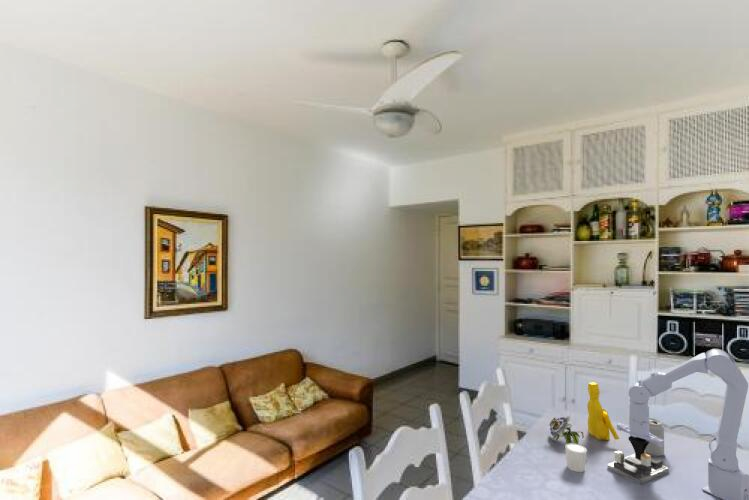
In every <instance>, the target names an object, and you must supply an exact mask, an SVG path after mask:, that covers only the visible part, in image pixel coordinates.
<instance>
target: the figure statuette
mask: <svg viewBox="0 0 749 500" xmlns="http://www.w3.org/2000/svg"><path fill="white" fill-rule="evenodd" d="M587 385H588V386H587V391H588V394H589V395H588V396H589V400H588V403H586V404H587V408H586V409H587V413H588V418H587V429H588V433H589V434H590V435H591V436H592V437H594V438H596V439H597V440H598V441H602V440H605V441H606V440H607V441H609V440H610V432H611V435H612V436H613V439H614V440H620V437H619V435H618V433H617V431H616V429H615V428H614V426H613V424H612V421H611V419H610V416H609V413H608V412H607V411H606V409H604V408H603V407H602V405H601V403H600V399H599V397H600V388H599V385H598V383H596V382H589V383H588V384H587Z"/></svg>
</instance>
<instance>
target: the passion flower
mask: <svg viewBox="0 0 749 500" xmlns="http://www.w3.org/2000/svg"><path fill="white" fill-rule="evenodd" d="M569 421H570V416H566V417H558V418H557V417H553V418H552V419H551V420H550V421H549V427H550V428H549V430H550V434H551V436H552V438H551V441H555V442H556V441H558V440H559V439H560V438H562V437H564V439H565V442H566V444H570V443H573V444H579V438H580V437H581V436H582V437H581V438H582V439H584V438H585V437H584V431H580V433H581V435H580V434H579V432H578V431H574V430H573V431H572V429H571V428H572V424H571V423H569Z"/></svg>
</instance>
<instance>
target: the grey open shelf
mask: <svg viewBox="0 0 749 500" xmlns="http://www.w3.org/2000/svg"><path fill="white" fill-rule="evenodd" d="M644 453H646V450H645V451H644ZM650 456H651V455H650ZM669 468H670V467H667V466H666V465H663V460H661V459H659V458H656V457H655V456H651V465H650V466H648V467H647V466H644V465H642V464H641V459H640V460H639V459H637V458H636V454H635V453H633V454H631V455H628V456H626V457H625V452H622V451H620V450H616V451H614V461H613V462H610V463H608V464H607V469H608V470H610V471H612V472H614V473H615V474H618V475H619V476H621V477H622V478H623V477H624V478H626V479H628V480H629V481H631V482H633V483H635V484H637V485H639V486H641V485H643V484H646V483H649V482H651V481H652V480H655V479H657V478H659V477H662V476H663V475H666V474H668V473H669V472H670V471H669V470H670V469H669Z"/></svg>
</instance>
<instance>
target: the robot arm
mask: <svg viewBox="0 0 749 500" xmlns="http://www.w3.org/2000/svg"><path fill="white" fill-rule="evenodd" d="M709 372H710V373H712V374H714V375H715V376H716V377H718V378H721V380H722V381H723V382H724V383H725V384H726V387H725V392H724V397H723V401H722V405H721V411H720V415H719V421H718V424H717V430H716V431H715V434H714V437H713V438H712V439H711V440H710V441H709V443H708V449H709V450H710V457H709V458H708V459H707V476H708V477H707V479H708V484H707V485H706V486H704V487H702V489H701V490H702V491H704V492H706V493H708V494H711V495H712V496H715V497H717V498H719V499H721V500H749V474H747V473H745V472H744V471H742V470H741V469H740V467H739V460H738V457H737V449H738V448H737V443H738V442H737V439H738V437H739V436H738V434H739V431H740V426H741V421H742V417H743V413H744V409H745V408H744V407H745V403H746V399H747V394H748V390H749V382H748V381H747V378H746V377H745V375H744V374H743V372H742V370H741V369H740V367H739V365H738V364H737V362H736V361H735V359H734V358H733V357H732V356H731V355H729V353H728V352H727V351H725V350H722V349H719V348H712V349H710V350H709V349H708V350H707V351H706V352H701V353H699V354H697V355H696V356H693V357H692V358H689V359H688V360H685V361H684V362H683V363H681V364H679V365H677V366H676V367H674V368H672V369H670V370H669V371H667V372H662V371H661V372H660V371H658V372H655V371H652V372H651V373H650V375H649V376H647V377H646V378H644V379H639V380H637V381H636V382H633V383H631V385H629V390H628V398H629V404H628V408H629V409H628V410H629V411H628V412H629V415H628V416H629V418H628V419H629V424H623V423H620V422H619V423H617V424H616V430H617V431H622V432H625V433H626V434H629V436H628V441H629V442H630V444H631V446H632V448H633V452H634V454H636V458H637V459H639V460H640V459H641V454H643V453H644V451H645V449H646V447H647V445H648V444H649V443H650V442H651V443H654V444H656V445H657V446H659V447H662V446H664V447H665V439H664V440H662V439H660V438H658V437H656V436H655V435H653V434H651V433H649V418H650V406H649V400H650V398H651V397H655V396H657V395H660V394H662V393H664V392H665V391H668V390H670V389H672V386H673V383H674V382H676V381H678V380H682V379H683V378H685V377H688V376H690V375H693V374H695V373H701V374H702V373H703V374H709Z"/></svg>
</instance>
